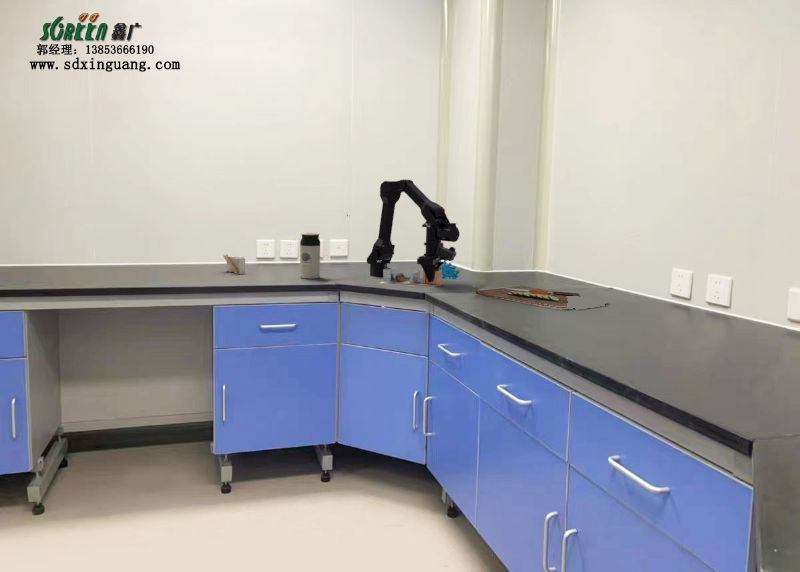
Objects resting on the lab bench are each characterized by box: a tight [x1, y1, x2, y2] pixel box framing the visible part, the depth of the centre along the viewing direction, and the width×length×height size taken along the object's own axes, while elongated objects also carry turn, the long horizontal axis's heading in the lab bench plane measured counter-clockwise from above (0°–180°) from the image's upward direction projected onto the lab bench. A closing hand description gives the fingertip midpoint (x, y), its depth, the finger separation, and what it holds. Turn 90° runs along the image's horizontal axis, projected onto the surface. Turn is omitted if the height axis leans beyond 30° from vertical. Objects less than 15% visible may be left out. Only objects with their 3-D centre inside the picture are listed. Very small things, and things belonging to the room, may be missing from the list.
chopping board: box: [475, 285, 581, 308], centre depth 237 cm, size 45×27×3 cm, turn 38°
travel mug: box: [299, 232, 321, 280], centre depth 272 cm, size 8×8×18 cm
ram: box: [409, 269, 443, 287], centre depth 255 cm, size 10×7×5 cm
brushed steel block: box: [382, 266, 400, 284], centre depth 260 cm, size 3×8×5 cm, turn 158°
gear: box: [439, 260, 461, 280], centre depth 278 cm, size 11×6×10 cm
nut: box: [395, 272, 406, 282], centre depth 259 cm, size 4×4×4 cm
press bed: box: [379, 278, 444, 289], centre depth 257 cm, size 22×12×2 cm, turn 68°
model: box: [222, 253, 246, 275], centre depth 282 cm, size 3×11×8 cm, turn 58°
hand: (432, 281), depth 254 cm, fingers closed on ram, 4 cm apart
